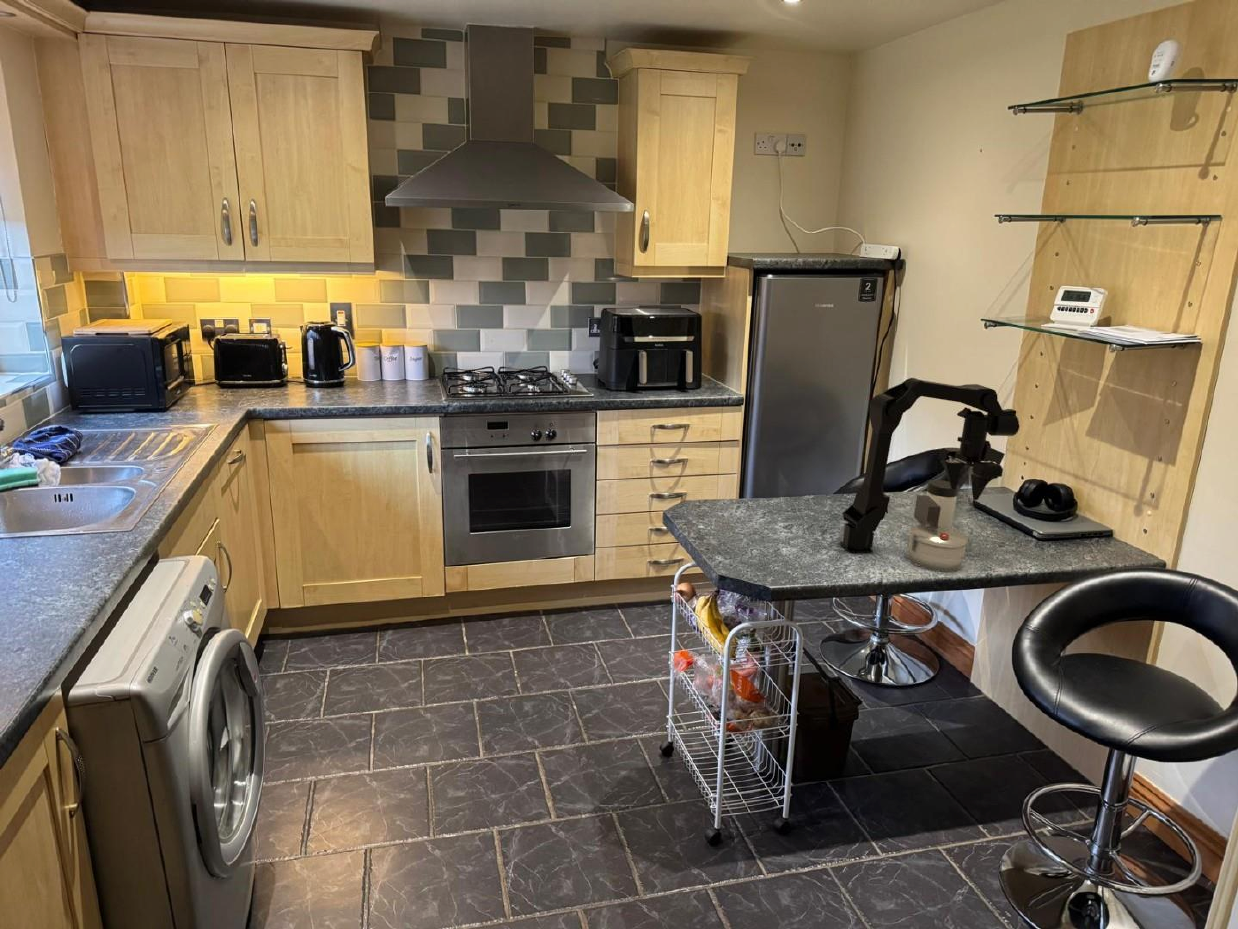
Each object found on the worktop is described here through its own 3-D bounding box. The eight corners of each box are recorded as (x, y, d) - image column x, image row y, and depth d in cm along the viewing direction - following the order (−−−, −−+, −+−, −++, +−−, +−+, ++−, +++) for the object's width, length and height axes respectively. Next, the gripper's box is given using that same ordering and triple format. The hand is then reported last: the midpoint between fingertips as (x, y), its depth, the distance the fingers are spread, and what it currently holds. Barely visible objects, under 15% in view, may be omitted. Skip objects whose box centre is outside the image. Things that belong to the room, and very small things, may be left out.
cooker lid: (975, 549, 201) (980, 525, 199) (919, 546, 201) (923, 521, 199) (944, 519, 222) (948, 497, 220) (893, 516, 222) (897, 493, 220)
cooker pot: (956, 576, 201) (960, 552, 199) (901, 562, 207) (905, 539, 205) (970, 552, 217) (975, 530, 215) (919, 540, 223) (922, 519, 221)
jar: (944, 519, 241) (951, 480, 238) (958, 529, 233) (965, 488, 230) (915, 519, 240) (921, 479, 237) (927, 529, 232) (934, 488, 229)
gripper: (1026, 444, 205) (1015, 505, 208) (978, 427, 222) (969, 484, 226) (987, 443, 202) (976, 505, 206) (941, 427, 219) (932, 484, 223)
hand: (964, 494), depth 215 cm, fingers open, 9 cm apart
